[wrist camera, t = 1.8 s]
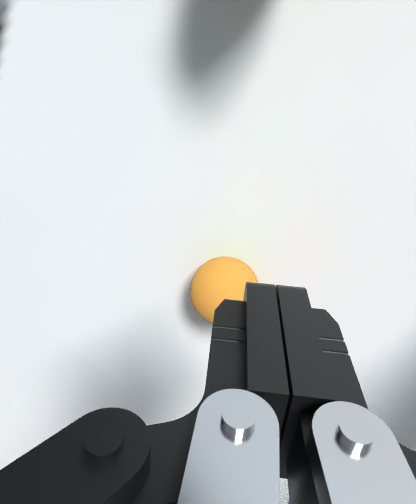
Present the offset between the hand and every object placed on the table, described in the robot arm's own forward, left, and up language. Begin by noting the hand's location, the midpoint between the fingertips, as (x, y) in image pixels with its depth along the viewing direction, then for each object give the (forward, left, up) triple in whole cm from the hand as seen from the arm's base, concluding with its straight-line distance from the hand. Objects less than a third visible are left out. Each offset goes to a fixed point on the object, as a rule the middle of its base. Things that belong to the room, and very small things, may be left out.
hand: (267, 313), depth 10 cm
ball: (+1, +11, -18) cm, 21 cm away
